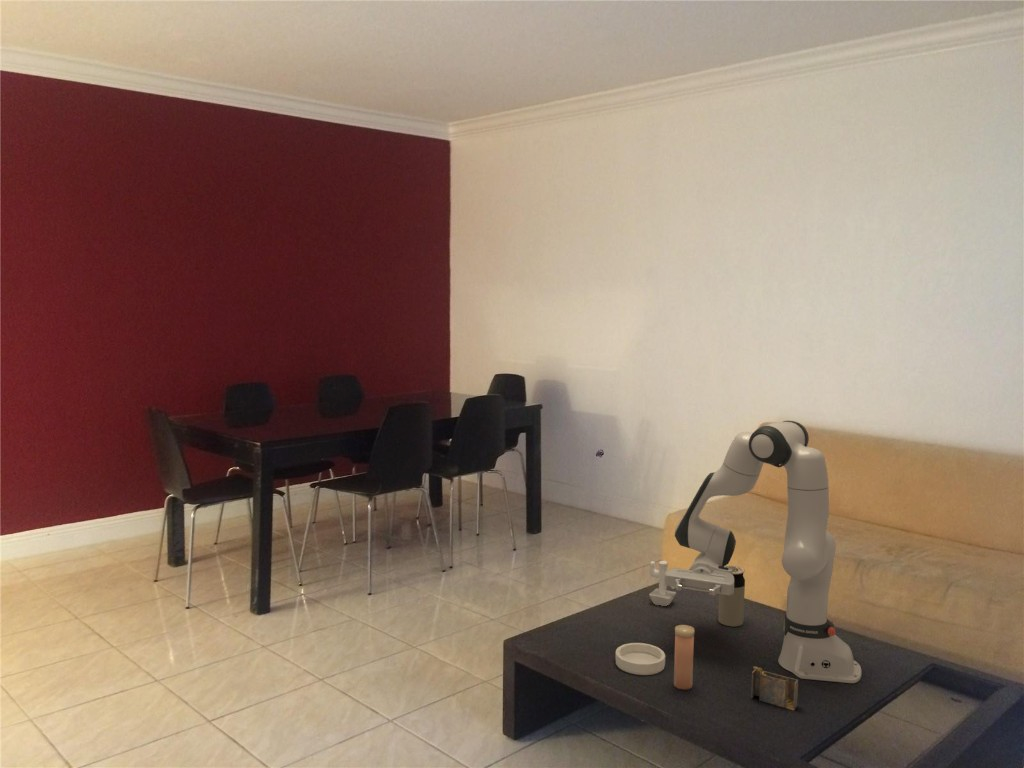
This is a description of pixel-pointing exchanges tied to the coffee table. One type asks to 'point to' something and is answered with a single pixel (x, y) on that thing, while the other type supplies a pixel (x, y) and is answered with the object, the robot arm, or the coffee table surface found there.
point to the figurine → (661, 585)
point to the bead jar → (683, 656)
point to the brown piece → (774, 688)
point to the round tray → (640, 658)
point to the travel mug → (733, 601)
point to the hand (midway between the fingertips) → (695, 590)
